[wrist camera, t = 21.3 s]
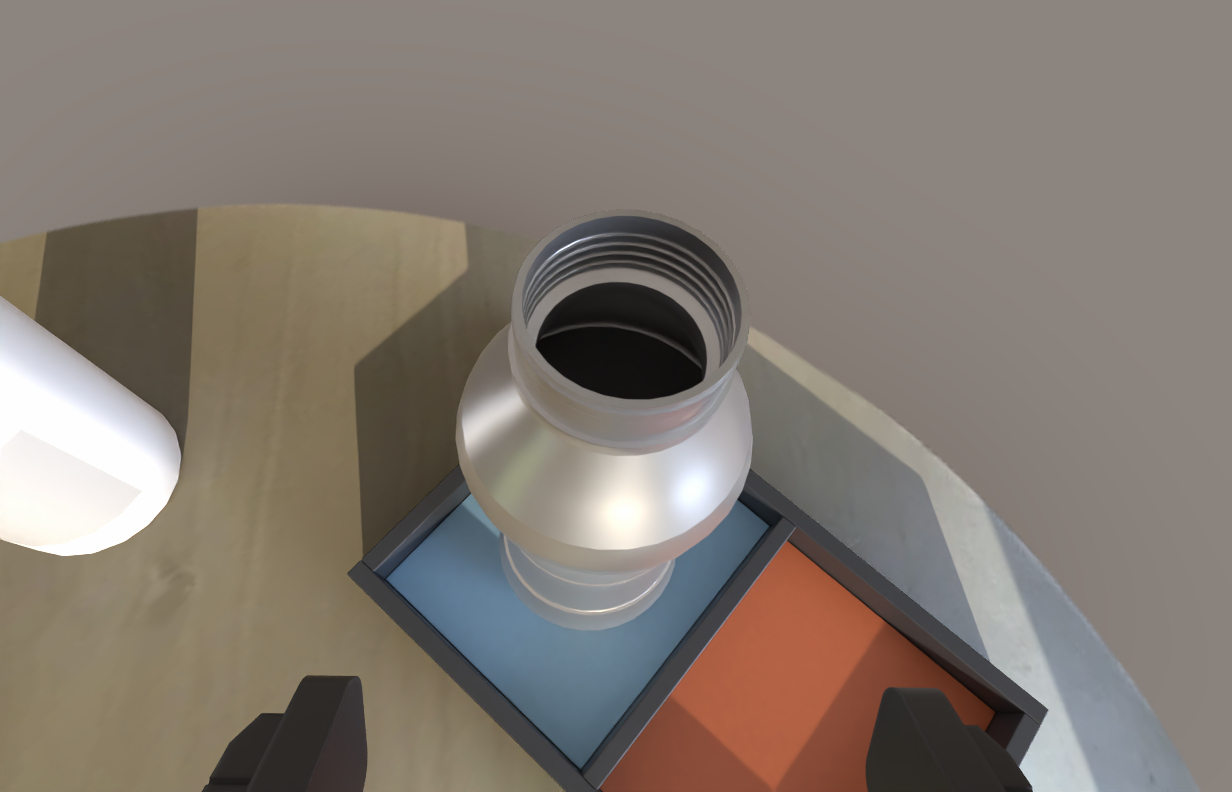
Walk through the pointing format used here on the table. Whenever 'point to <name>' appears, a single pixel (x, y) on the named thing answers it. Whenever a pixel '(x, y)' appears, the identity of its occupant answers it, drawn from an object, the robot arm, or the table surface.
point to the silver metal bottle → (609, 414)
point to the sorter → (689, 654)
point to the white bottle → (74, 447)
